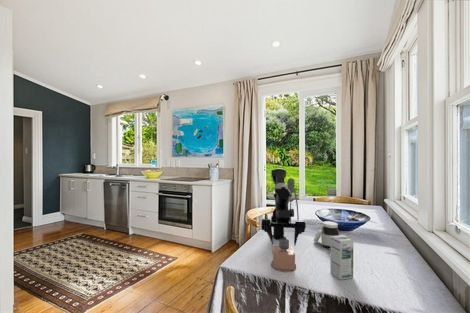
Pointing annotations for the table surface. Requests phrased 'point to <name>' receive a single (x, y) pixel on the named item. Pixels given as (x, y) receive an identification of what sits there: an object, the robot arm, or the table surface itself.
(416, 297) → the table surface
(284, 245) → the pump head
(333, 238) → the syrup box
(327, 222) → the spread jar
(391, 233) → the table surface
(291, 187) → the citrus juicer
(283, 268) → the brown squat piece
